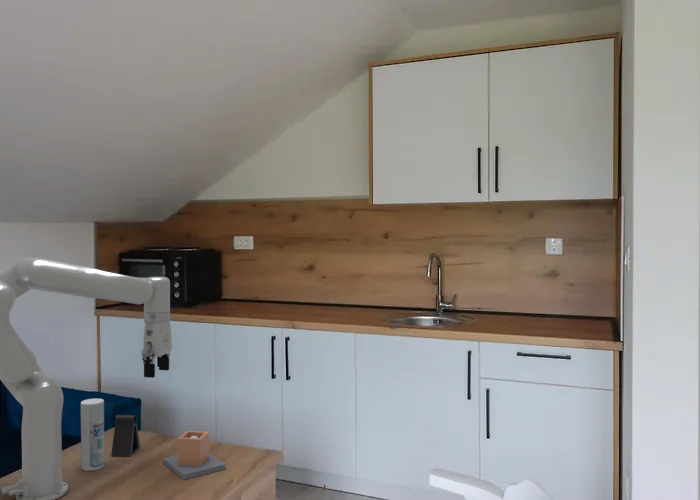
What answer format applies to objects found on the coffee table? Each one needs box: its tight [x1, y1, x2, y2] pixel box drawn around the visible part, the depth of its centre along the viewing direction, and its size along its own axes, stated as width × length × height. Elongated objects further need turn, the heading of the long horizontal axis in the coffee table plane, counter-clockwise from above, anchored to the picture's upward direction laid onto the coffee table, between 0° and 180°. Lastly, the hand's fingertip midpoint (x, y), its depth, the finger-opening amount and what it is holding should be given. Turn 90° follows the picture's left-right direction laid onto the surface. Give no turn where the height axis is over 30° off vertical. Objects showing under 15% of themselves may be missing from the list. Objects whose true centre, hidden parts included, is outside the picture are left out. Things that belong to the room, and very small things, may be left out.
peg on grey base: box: [162, 436, 226, 481], centre depth 182 cm, size 13×16×9 cm
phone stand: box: [110, 414, 141, 458], centre depth 194 cm, size 9×6×12 cm, turn 179°
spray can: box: [80, 398, 105, 472], centre depth 181 cm, size 6×6×20 cm
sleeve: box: [177, 430, 210, 466], centre depth 182 cm, size 7×7×8 cm
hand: (156, 373), depth 182 cm, fingers open, 9 cm apart
